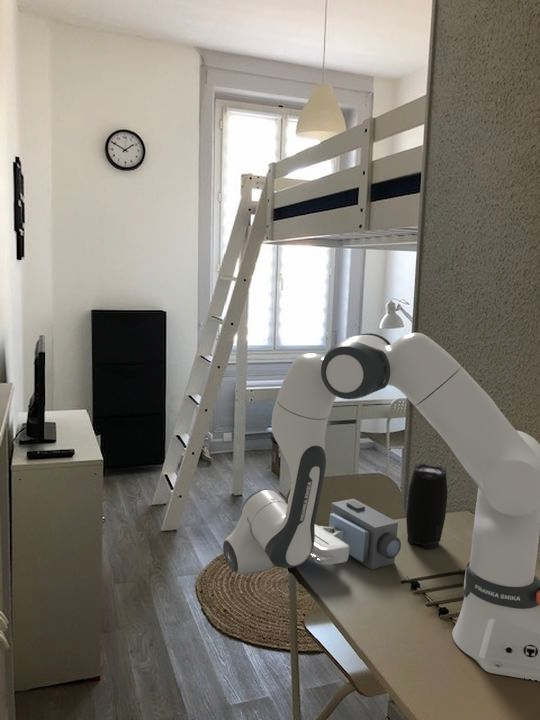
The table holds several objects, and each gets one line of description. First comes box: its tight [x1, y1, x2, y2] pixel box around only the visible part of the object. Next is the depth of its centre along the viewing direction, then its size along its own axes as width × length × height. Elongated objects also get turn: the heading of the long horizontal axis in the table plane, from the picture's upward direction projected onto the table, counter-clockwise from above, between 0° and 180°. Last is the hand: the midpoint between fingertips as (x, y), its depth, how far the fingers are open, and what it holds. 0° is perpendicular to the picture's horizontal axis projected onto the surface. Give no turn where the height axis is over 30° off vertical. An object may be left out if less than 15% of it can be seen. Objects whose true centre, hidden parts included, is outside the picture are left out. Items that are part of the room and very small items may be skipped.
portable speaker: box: [405, 463, 448, 550], centre depth 153 cm, size 9×9×20 cm
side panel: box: [328, 513, 370, 563], centre depth 143 cm, size 13×1×7 cm, turn 36°
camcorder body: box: [330, 498, 402, 570], centre depth 145 cm, size 19×7×11 cm, turn 32°
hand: (339, 532), depth 144 cm, fingers closed
